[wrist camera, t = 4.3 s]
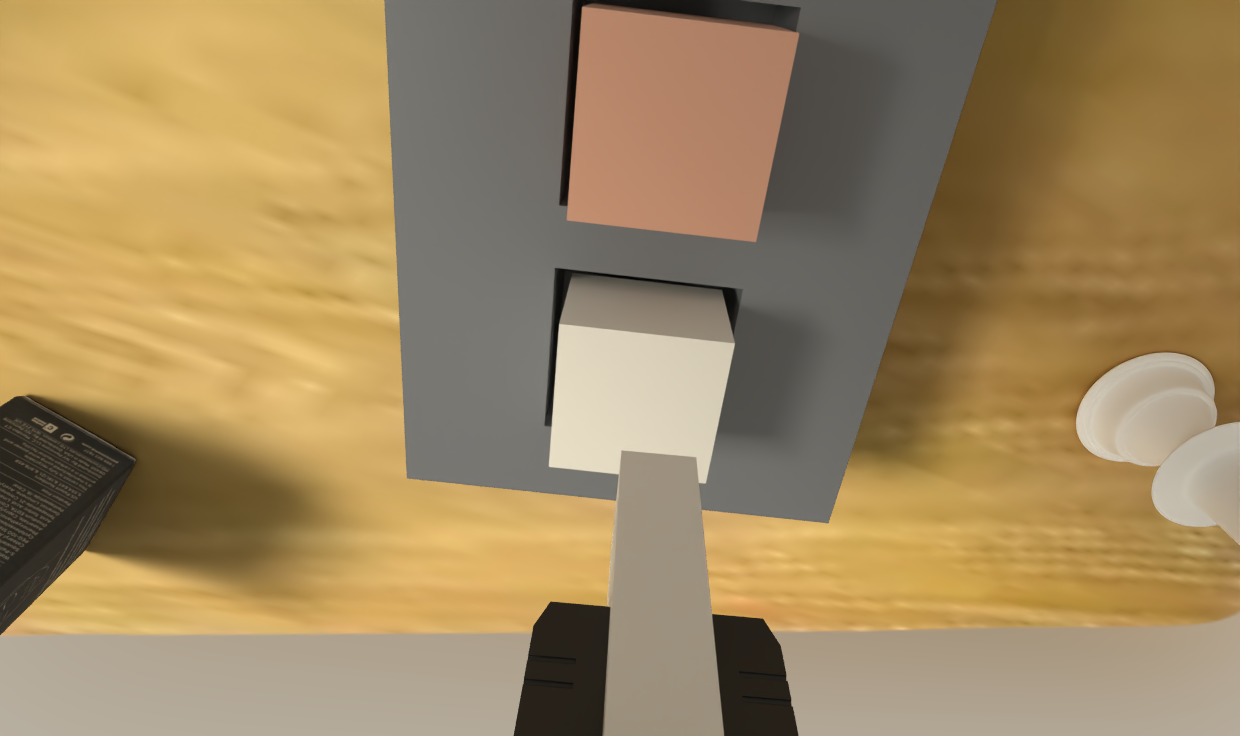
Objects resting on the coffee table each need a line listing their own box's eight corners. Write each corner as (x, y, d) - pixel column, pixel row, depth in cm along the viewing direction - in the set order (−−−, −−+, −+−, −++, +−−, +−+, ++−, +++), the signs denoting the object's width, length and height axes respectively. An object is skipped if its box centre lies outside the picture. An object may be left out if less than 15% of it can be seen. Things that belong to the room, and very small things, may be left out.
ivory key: (562, 401, 26) (549, 466, 22) (572, 272, 23) (559, 323, 20) (697, 415, 26) (705, 483, 22) (721, 289, 23) (735, 343, 20)
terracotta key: (579, 182, 22) (566, 220, 18) (594, 2, 20) (582, 6, 16) (738, 201, 22) (755, 242, 19) (772, 24, 20) (799, 33, 16)
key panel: (441, 407, 31) (407, 478, 26) (424, -549, 17) (350, -728, 13) (803, 447, 31) (828, 523, 27) (1059, -461, 18) (1193, -606, 13)
